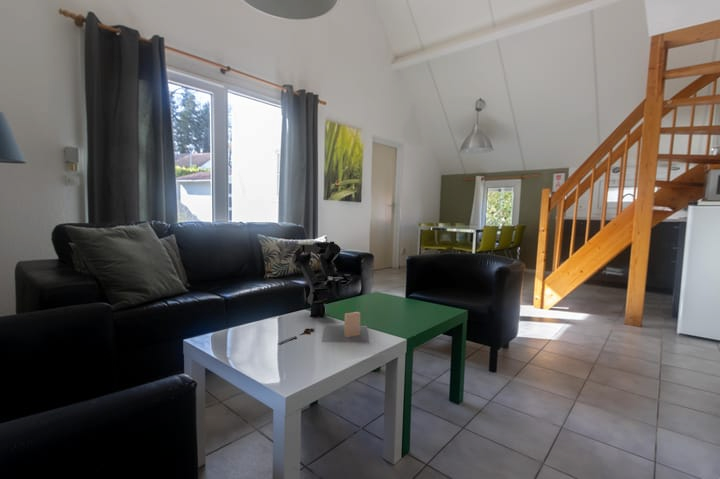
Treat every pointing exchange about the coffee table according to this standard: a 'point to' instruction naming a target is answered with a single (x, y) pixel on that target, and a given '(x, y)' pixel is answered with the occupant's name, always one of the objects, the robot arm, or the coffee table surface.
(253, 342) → the coffee table surface
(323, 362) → the coffee table surface
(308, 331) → the sword
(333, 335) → the mat
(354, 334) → the tile
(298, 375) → the coffee table surface
